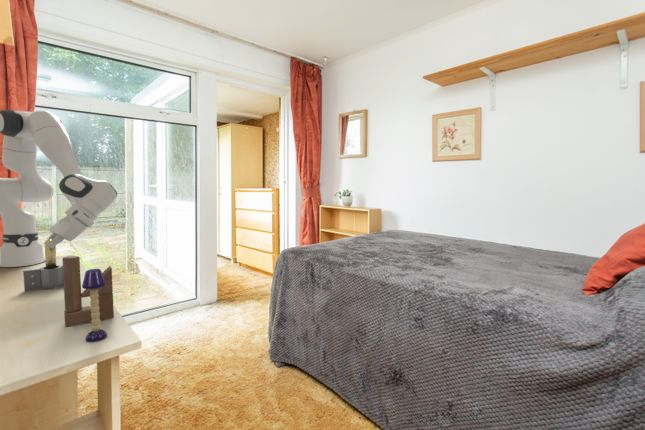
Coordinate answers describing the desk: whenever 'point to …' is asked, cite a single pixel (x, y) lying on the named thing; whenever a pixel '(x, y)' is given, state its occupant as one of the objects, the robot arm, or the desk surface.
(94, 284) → the toy lamp
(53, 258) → the brass pin
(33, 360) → the desk surface
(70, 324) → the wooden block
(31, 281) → the octagonal sleeve with tab
